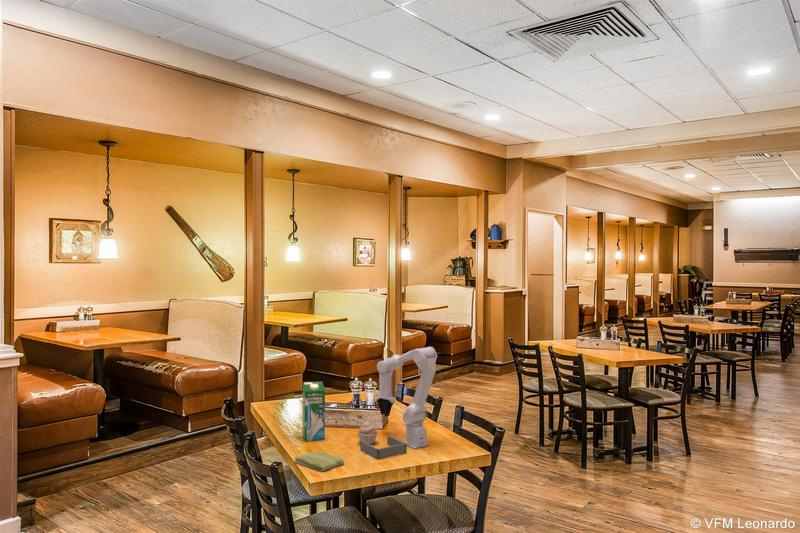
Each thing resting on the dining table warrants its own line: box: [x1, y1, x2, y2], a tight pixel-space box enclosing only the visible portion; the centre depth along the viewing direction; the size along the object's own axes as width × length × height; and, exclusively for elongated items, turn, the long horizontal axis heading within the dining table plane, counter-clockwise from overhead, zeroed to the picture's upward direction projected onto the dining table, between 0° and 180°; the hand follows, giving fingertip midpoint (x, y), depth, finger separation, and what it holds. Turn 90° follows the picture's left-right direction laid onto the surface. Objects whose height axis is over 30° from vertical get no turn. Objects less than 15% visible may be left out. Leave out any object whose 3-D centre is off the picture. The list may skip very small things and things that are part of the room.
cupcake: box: [357, 420, 379, 446], centre depth 254 cm, size 9×9×10 cm
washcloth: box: [294, 450, 345, 473], centre depth 229 cm, size 13×18×3 cm
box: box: [359, 434, 408, 460], centre depth 244 cm, size 14×15×4 cm
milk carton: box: [302, 381, 326, 442], centre depth 261 cm, size 9×9×25 cm
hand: (385, 415), depth 266 cm, fingers open, 3 cm apart
